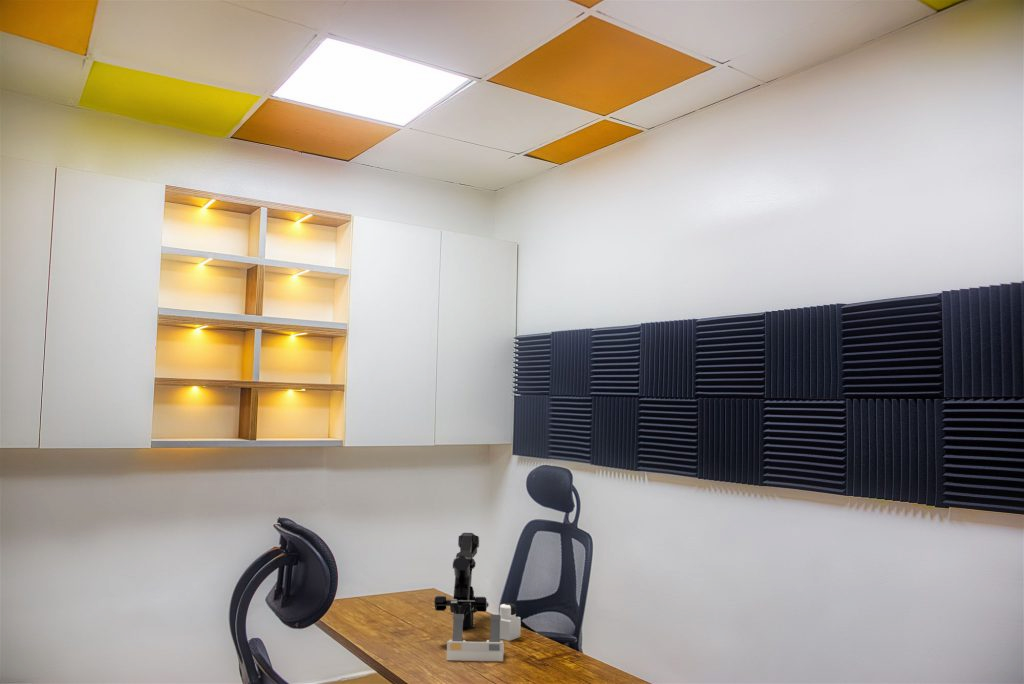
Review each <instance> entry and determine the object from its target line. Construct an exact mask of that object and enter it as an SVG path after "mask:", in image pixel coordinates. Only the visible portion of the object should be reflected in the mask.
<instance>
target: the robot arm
mask: <svg viewBox="0 0 1024 684" xmlns="http://www.w3.org/2000/svg"><path fill="white" fill-rule="evenodd" d="M457 543H458V544H457V546H458V548H459V552H457V553H456V556H455V558H454V559H453V562H452V569H453V571H454V586H453V598H451V599H447V596H446V595H437V596H435V597H434V601H433V602H434V609H435V611H437V612H445V611H446V610H447V607H450V608H449V610H450V613H451V614H452V613H453V614H464V620H463V631H468V630H472V629H476V628H477V626H476V625H474V614H476V613H477V612H481V613H482V612H487V608H488V607H487V606H488V605H487V602H488V601H487V600H488V599H487V597H485V596H475V591H474V588H473V586H472V575H473V570H474V569H475V567H476V561H475V559H474V557H476V555H477V554H478V548H480V537H479V536H478V535H476V534H475V533H473V532H462V533H461V535H458V542H457Z"/></svg>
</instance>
